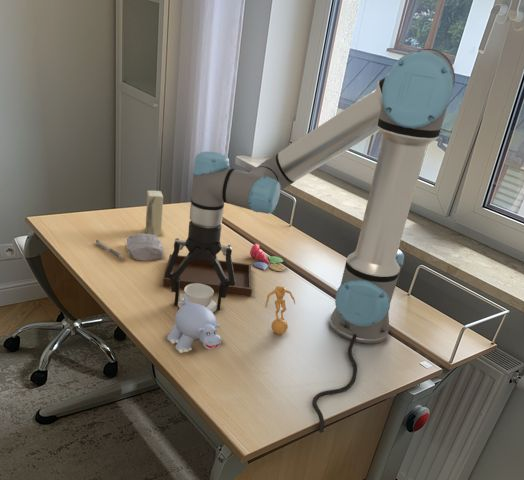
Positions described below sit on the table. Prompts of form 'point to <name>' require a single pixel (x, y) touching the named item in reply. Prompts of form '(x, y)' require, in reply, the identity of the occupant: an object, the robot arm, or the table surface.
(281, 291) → the figurine
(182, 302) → the teacup
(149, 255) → the stone block
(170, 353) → the table surface
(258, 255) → the toy pieces
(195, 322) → the hippopotamus toy
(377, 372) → the table surface
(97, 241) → the pen
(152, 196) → the box
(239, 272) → the tray
